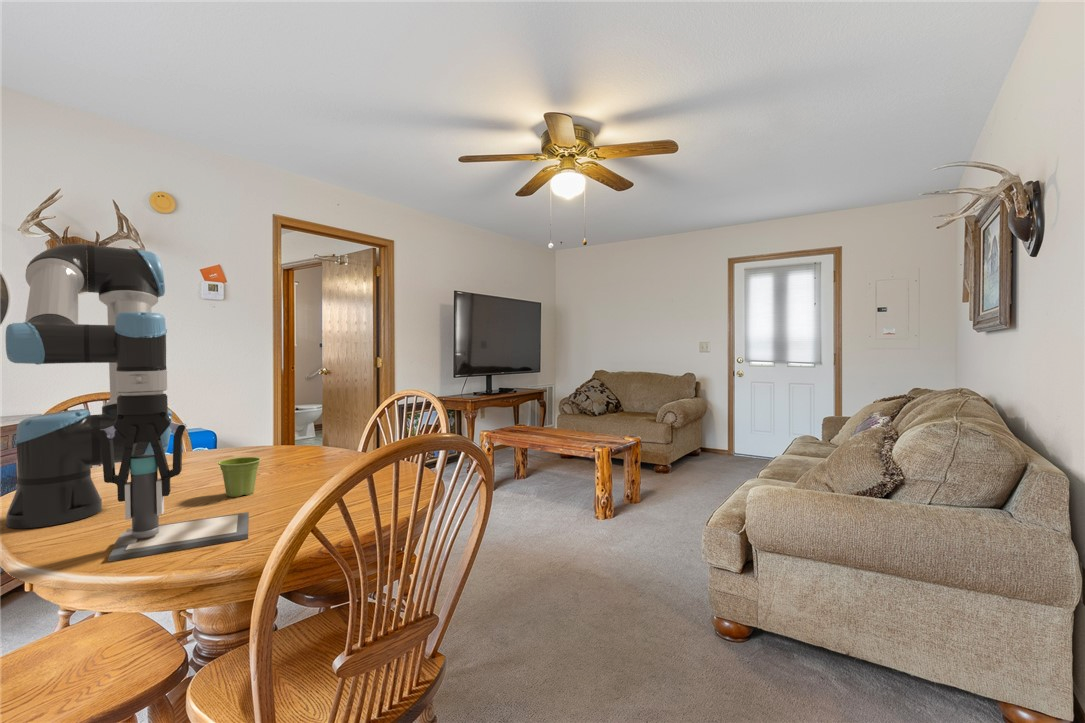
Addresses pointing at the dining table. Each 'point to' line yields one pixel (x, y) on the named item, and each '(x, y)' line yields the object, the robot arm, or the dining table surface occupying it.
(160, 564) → the dining table surface
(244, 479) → the plant pot
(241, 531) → the clipboard
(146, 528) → the marker
